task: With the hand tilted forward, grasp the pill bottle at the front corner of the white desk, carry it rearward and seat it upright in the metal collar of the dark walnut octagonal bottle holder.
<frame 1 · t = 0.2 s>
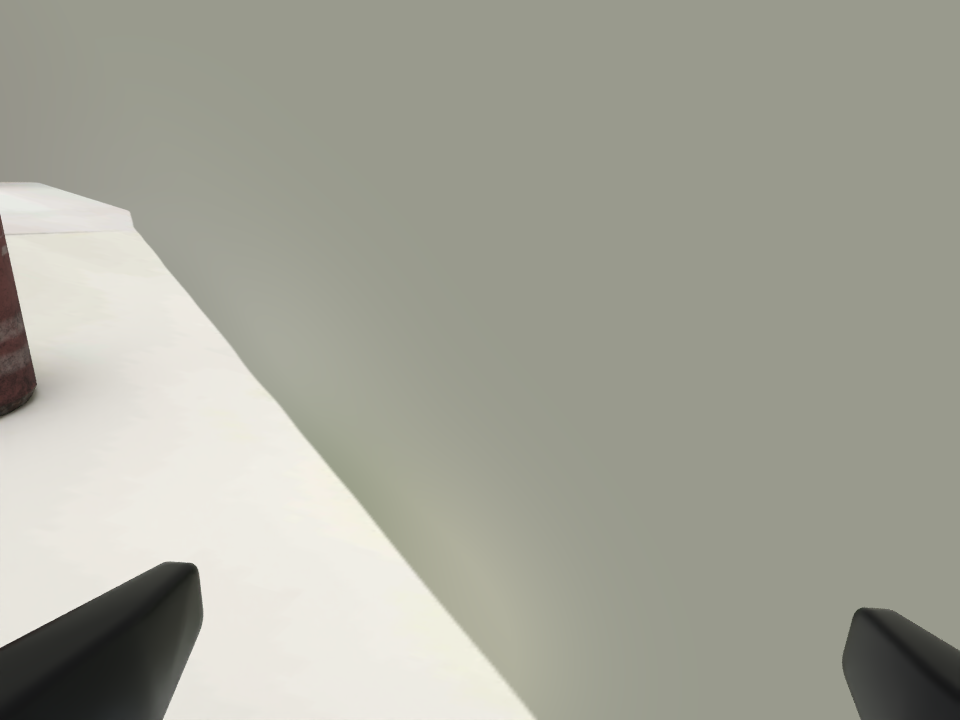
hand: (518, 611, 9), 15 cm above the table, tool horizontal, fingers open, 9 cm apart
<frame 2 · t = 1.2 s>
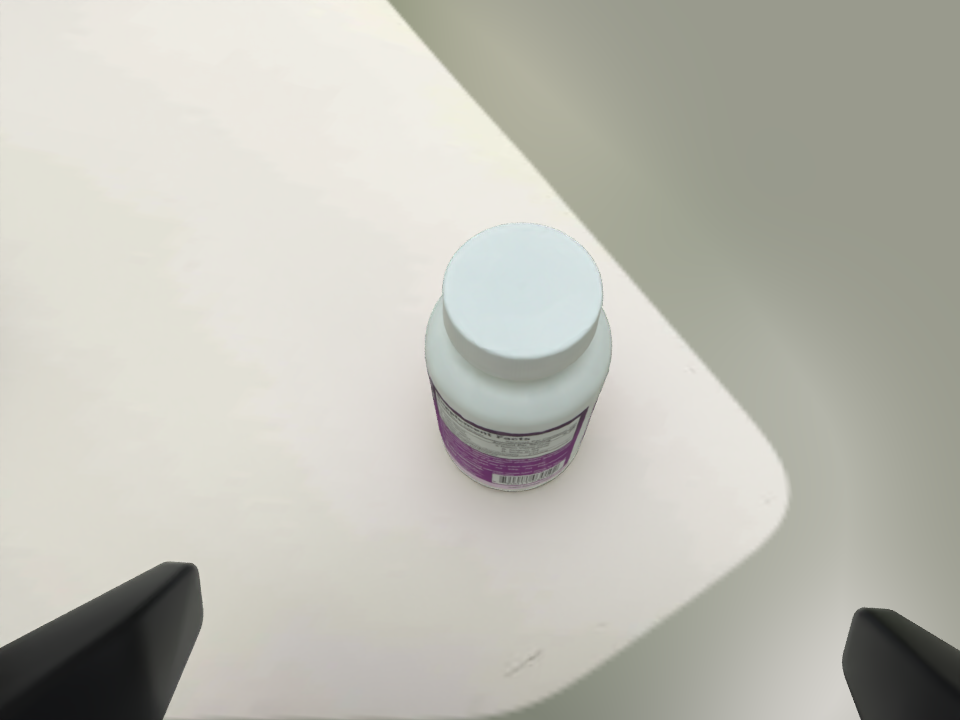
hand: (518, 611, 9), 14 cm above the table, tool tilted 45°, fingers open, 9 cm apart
pill bottle: (510, 427, 25), on the table
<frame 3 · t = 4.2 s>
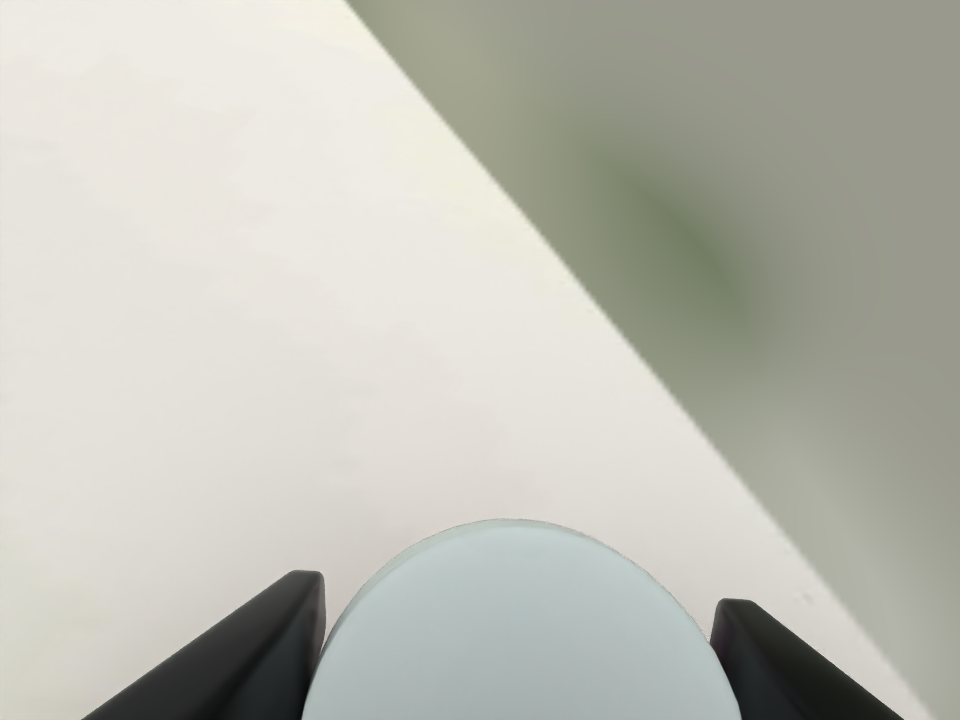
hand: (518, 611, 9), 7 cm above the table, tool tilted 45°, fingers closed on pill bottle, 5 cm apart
pill bottle: (501, 711, 14), on the table, touching gripper
when the fingers open (7 cm above the table, at t = 11.2 s): pill bottle stays where it is, resting on octagonal bottle holder.
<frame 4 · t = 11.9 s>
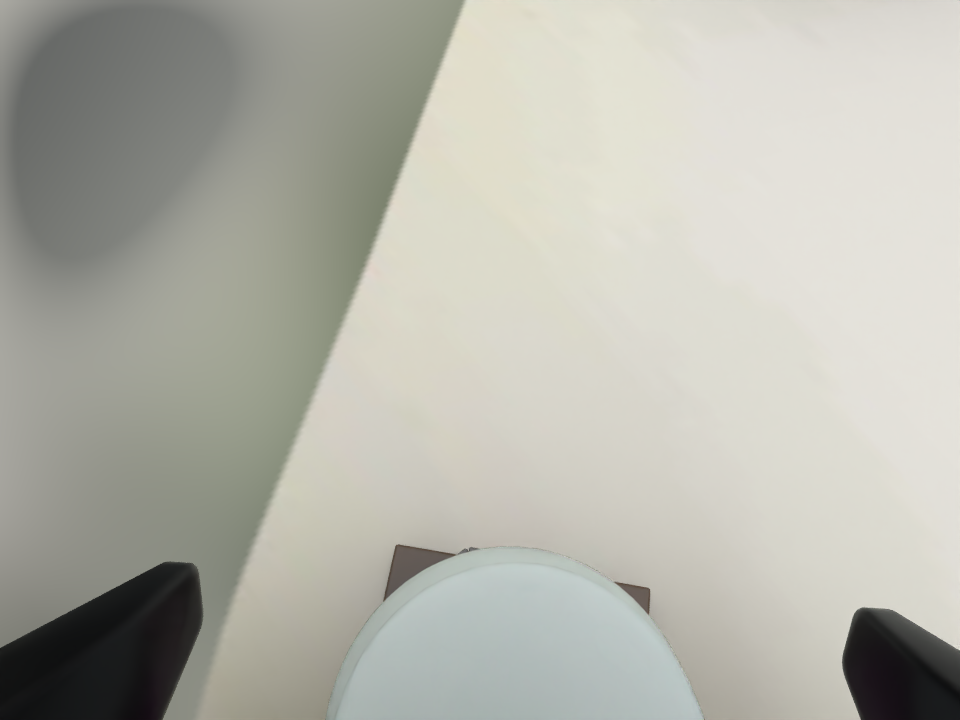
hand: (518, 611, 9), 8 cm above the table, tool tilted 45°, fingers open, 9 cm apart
pill bottle: (501, 717, 15), resting on octagonal bottle holder
octagonal bottle holder: (501, 708, 16), on the table
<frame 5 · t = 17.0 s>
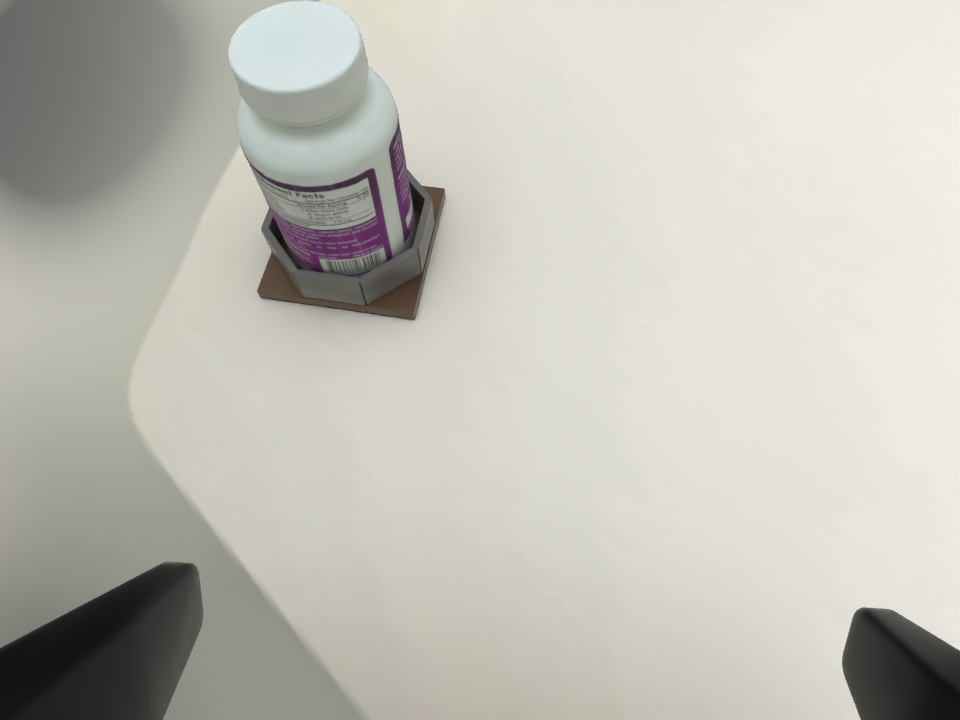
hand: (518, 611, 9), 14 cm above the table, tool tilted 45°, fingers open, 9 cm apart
pill bottle: (354, 243, 28), resting on octagonal bottle holder
octagonal bottle holder: (356, 244, 28), on the table
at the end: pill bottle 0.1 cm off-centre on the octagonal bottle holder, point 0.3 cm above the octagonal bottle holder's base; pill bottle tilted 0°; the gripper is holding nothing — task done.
